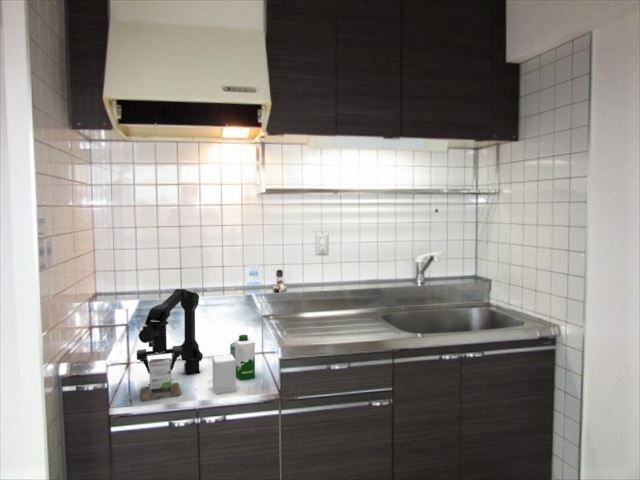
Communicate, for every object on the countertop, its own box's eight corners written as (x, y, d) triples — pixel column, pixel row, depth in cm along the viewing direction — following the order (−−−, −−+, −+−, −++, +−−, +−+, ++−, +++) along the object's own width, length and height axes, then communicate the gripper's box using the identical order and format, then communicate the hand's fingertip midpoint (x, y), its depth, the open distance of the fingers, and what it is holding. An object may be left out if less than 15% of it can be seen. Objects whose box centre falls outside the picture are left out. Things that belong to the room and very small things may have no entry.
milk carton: (251, 374, 228) (250, 333, 226) (257, 380, 220) (257, 338, 218) (233, 377, 224) (232, 335, 222) (239, 383, 216) (238, 340, 214)
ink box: (172, 383, 208) (171, 357, 207) (170, 387, 203) (169, 361, 202) (151, 385, 206) (150, 358, 205) (149, 389, 201) (148, 362, 201)
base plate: (178, 384, 214) (178, 379, 214) (181, 395, 201) (181, 390, 201) (140, 389, 208) (140, 384, 208) (141, 401, 195) (141, 396, 195)
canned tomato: (244, 368, 236) (244, 346, 236) (228, 368, 236) (228, 346, 236) (247, 362, 244) (246, 342, 244) (232, 362, 244) (231, 342, 244)
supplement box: (236, 393, 203) (236, 359, 202) (215, 396, 200) (215, 362, 199) (232, 386, 212) (232, 353, 211) (212, 389, 209) (212, 356, 208)
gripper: (179, 329, 214) (180, 363, 215) (135, 334, 207) (137, 368, 208) (182, 336, 204) (183, 371, 205) (136, 340, 197) (137, 377, 198)
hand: (160, 371), depth 204 cm, fingers closed on ink box, 9 cm apart
